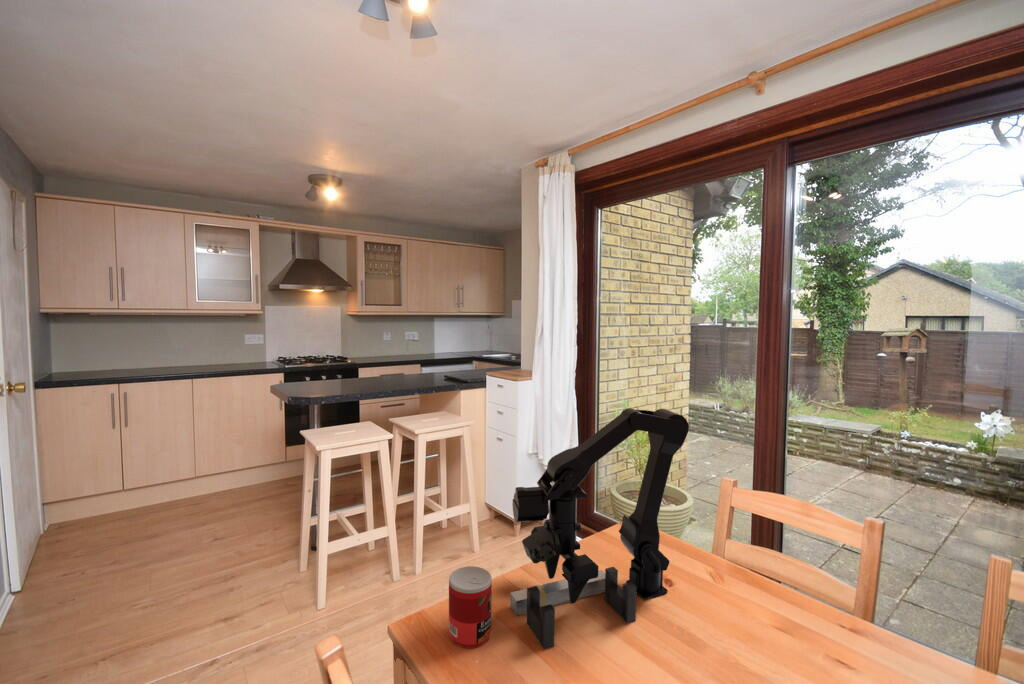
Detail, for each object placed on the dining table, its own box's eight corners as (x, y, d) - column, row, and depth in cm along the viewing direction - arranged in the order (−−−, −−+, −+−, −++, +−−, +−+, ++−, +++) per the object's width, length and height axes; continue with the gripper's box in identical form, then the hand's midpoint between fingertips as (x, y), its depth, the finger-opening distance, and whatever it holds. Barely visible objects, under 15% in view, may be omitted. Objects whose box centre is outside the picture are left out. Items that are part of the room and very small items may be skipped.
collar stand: (612, 598, 95) (613, 566, 95) (635, 621, 88) (636, 586, 88) (526, 623, 88) (526, 588, 87) (544, 649, 81) (544, 611, 80)
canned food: (485, 652, 80) (486, 592, 79) (442, 645, 81) (442, 586, 81) (495, 623, 87) (496, 568, 87) (456, 617, 89) (456, 563, 88)
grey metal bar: (601, 583, 101) (601, 569, 101) (609, 591, 98) (609, 577, 98) (510, 606, 92) (510, 592, 92) (516, 616, 90) (516, 601, 89)
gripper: (509, 506, 100) (509, 574, 101) (549, 546, 83) (548, 628, 84) (554, 498, 104) (553, 564, 105) (600, 535, 87) (599, 613, 88)
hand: (561, 590), depth 95 cm, fingers open, 9 cm apart
